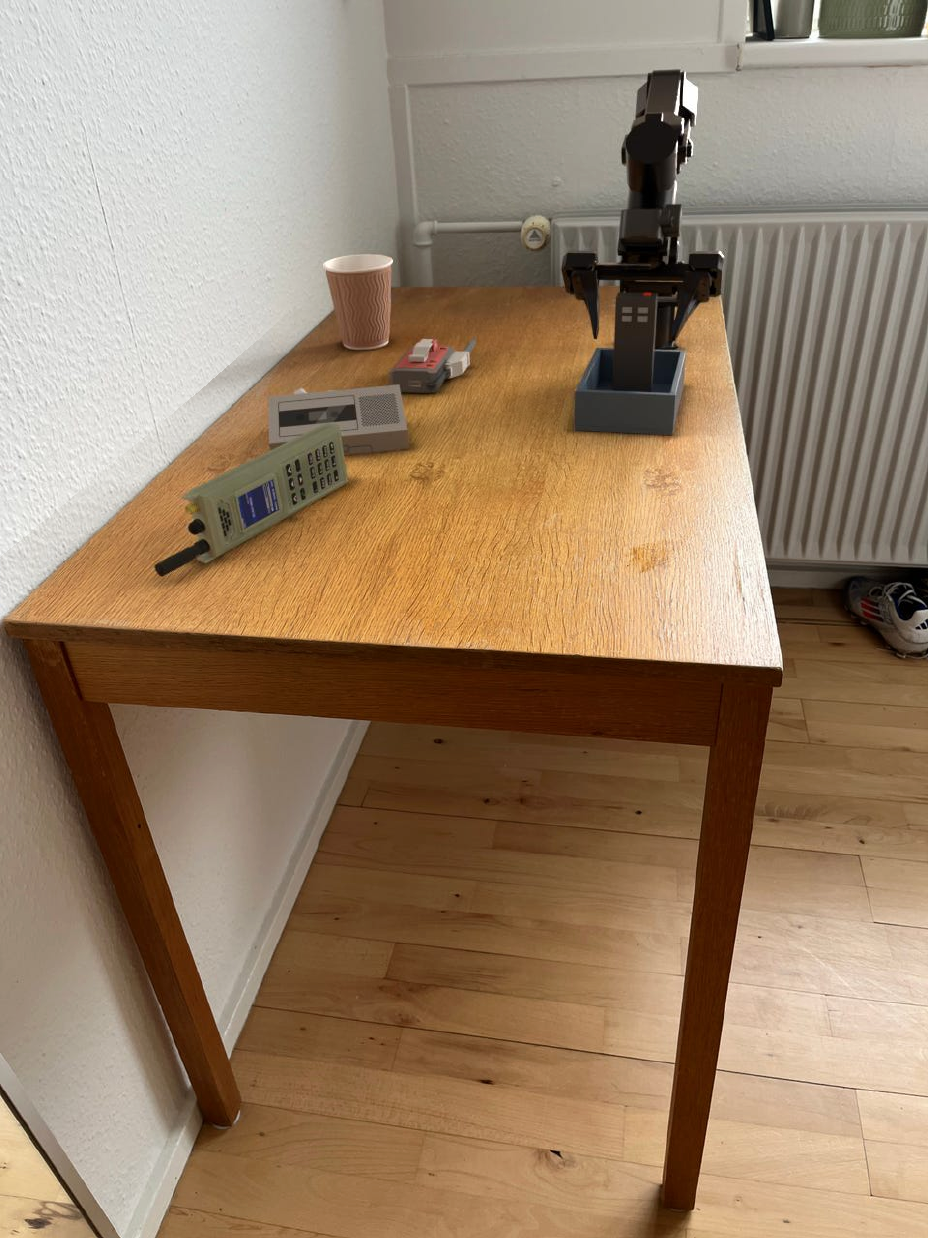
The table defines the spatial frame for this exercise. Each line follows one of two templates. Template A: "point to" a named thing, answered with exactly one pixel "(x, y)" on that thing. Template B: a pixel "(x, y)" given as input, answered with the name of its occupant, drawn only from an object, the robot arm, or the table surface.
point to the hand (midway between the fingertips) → (633, 338)
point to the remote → (634, 341)
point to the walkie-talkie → (429, 366)
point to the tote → (630, 396)
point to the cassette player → (343, 417)
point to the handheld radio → (261, 494)
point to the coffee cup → (361, 298)
